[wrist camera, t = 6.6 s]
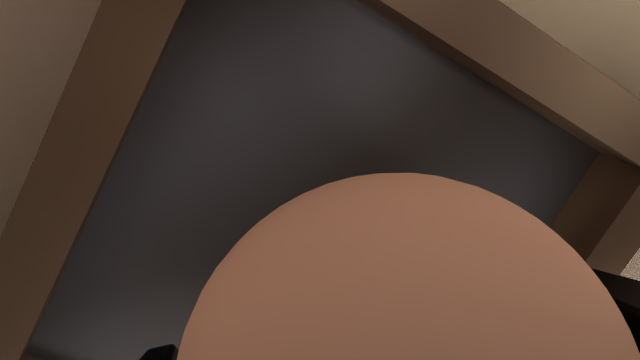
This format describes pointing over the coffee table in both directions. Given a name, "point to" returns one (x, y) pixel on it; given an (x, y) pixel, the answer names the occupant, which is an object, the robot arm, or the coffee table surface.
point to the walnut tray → (289, 148)
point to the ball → (404, 282)
